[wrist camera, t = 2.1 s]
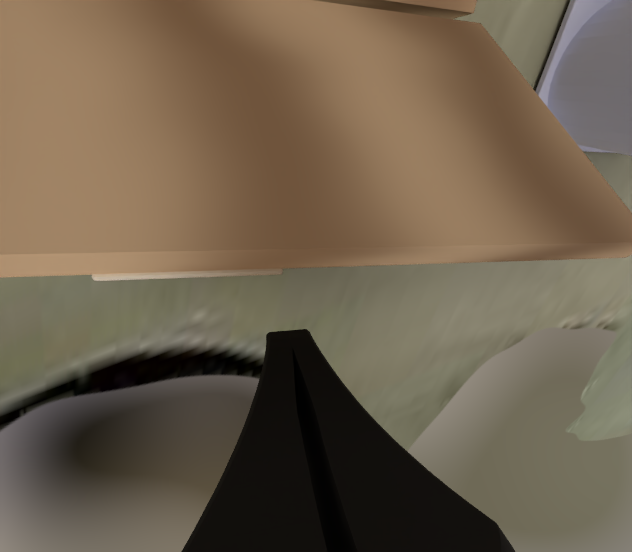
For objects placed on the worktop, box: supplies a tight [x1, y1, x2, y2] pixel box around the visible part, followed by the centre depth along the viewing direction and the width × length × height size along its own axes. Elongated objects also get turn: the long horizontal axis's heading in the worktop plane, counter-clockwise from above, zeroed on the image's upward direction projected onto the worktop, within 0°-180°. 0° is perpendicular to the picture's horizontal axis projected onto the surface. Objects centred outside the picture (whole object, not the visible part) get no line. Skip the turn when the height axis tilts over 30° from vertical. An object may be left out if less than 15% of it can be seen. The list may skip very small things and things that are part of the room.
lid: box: [0, 0, 632, 281], centre depth 7 cm, size 18×10×1 cm
